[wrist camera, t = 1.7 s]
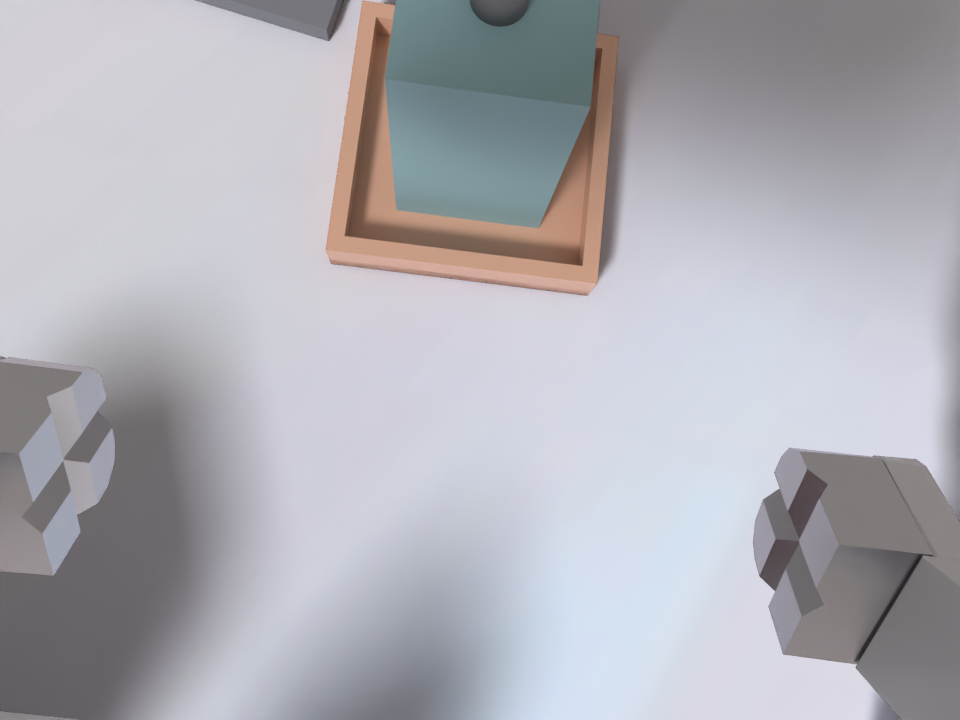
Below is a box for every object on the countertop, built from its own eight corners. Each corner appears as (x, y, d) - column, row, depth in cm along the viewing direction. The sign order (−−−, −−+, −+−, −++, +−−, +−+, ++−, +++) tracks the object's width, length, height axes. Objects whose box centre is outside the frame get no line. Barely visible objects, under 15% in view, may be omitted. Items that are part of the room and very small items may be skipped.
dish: (330, 263, 32) (322, 241, 29) (365, 27, 33) (360, -16, 31) (587, 295, 32) (603, 276, 29) (608, 60, 34) (625, 21, 31)
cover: (396, 210, 32) (382, 55, 20) (413, 78, 32) (409, -139, 21) (538, 228, 32) (600, 84, 21) (551, 96, 33) (617, -108, 22)
